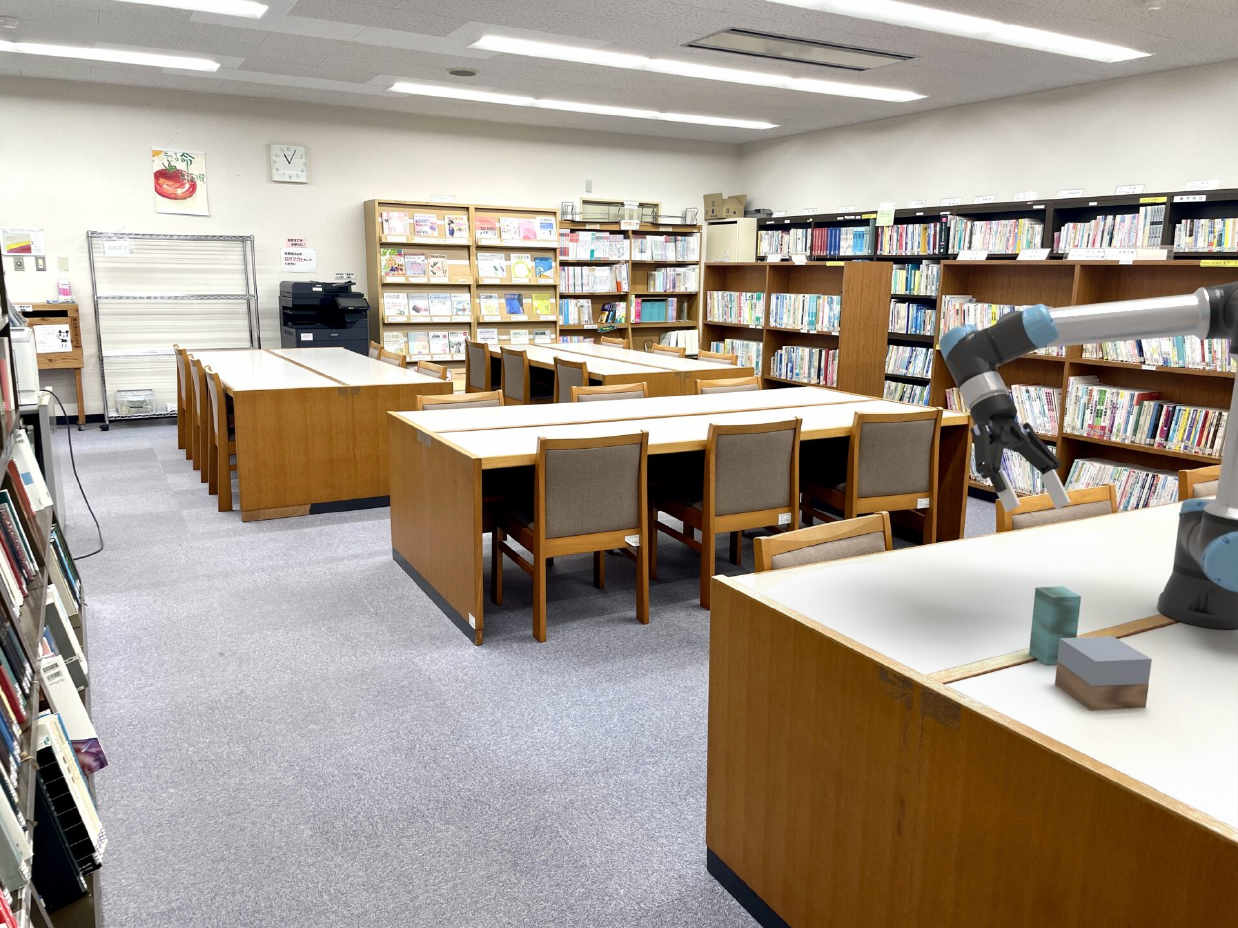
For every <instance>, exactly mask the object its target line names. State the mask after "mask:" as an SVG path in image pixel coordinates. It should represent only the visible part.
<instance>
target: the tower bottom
mask: <svg viewBox="0 0 1238 928" xmlns="http://www.w3.org/2000/svg"><path fill="white" fill-rule="evenodd" d="M1054 685H1055V686H1056V687H1058V688H1059V689H1060V690H1062V691H1064V692H1065V693H1066V694H1067V695H1069V696H1070V697H1072V698H1073V699H1074V700H1075V701H1077V702H1079V704H1081V705H1082V706H1084V707H1086V708H1087V709H1088V710H1090V711H1106V710H1107V711H1108V710H1121V709H1122V710H1123V709H1124V710H1125V709H1139V708H1141V709H1143V708H1146V707H1147V701H1148V694H1149V693H1148V692H1149V687H1150V683H1149V684H1135V685H1113V686H1091V685H1090V684H1089V683H1087V682H1086V681H1084V680H1083V679H1081V678H1080V677H1078V676H1077V675H1076V674H1074V673H1073V672H1071V671H1070V670H1068V669H1067V668H1065V667H1064V666H1062V665H1061V664H1060V663H1058V662H1057V665H1056V669H1055V679H1054Z"/></svg>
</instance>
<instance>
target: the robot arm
mask: <svg viewBox="0 0 1238 928" xmlns="http://www.w3.org/2000/svg"><path fill="white" fill-rule="evenodd" d="M1187 336H1195V337H1196V338H1197V339H1199V340H1201V341H1203V340H1218V339H1219V340H1230V341H1229V342H1230V344H1229V349H1228V356H1229V357H1230V358H1231V359H1232V360H1233V361H1234V362H1235V363H1236V365H1237V366H1236V373H1235V377H1234V385H1233V390H1232V395H1231V402H1230V408H1229V415H1228V420H1227V421H1228V422H1227V428H1226V433H1225V440H1224V445H1223V450H1222V458H1221V463H1220V469H1219V477H1218V482H1217V488H1216V492H1215V493H1216V494H1215V498H1214V499H1213V498H1211V499H1210V498H1187V499H1185V500H1183V501H1182V503H1181V507H1180V511H1179V512H1178V517H1179V519H1178V526H1177V527H1178V528H1177V533H1176V542H1175V548H1174V549H1175V550H1174V557H1173V564H1172V565H1173V566H1172V571H1171V574H1170V576H1169V578H1168V580H1167V581H1166V584H1165V586H1164V588H1163V591H1162V592H1161V593H1160V594H1159V595H1158V600H1157V607H1156V608H1157V610H1158V611H1159V612H1160V613H1161V614H1162V615H1164V616H1166V617H1168V618H1171V619H1173V620H1175V621H1178V622H1182V623H1185V624H1189V625H1194V626H1198V627H1204V628H1209V629H1221V630H1237V629H1238V280H1237V281H1233V282H1228V283H1224V284H1219V285H1212V286H1204V287H1203V286H1202V287H1199V288H1198V289H1197V290H1196V291H1194V292H1193V293H1189V294H1178V295H1168V296H1159V297H1158V296H1157V297H1148V298H1140V299H1128V300H1120V301H1111V302H1110V301H1109V302H1100V303H1091V304H1090V303H1089V304H1079V305H1069V306H1063V307H1060V306H1059V307H1049V308H1047V307H1046V305H1045V304H1043V303H1037V304H1035V305H1033V306H1030V307H1027V308H1025V309H1023V310H1013V311H1008V312H1006V313H1003V314H1002V315H1001V316H1000V317H999V318H998V319H997V321H996V323H994V324H992V325H990V326H988V327H985V328H982V329H978V328H977V327H976V326H975V325H974V324H971V323H965V324H962V325H957V326H955V327H952V328H951V329H949V330H947V331H946V332H945V333H944V334H942V336H941V338H940V340H939V342H938V343H939V344H938V345H939V346H938V347H939V350H940V352H941V354H942V357H943V359H944V362H945V365H946V367H947V368H948V370H949V372H950V375H951V377H952V378H953V381H954V383H955V384H956V388H957V389H958V391H959V393H960V395H961V398H962V400H963V402H964V404H965V406H966V408H967V409H968V410H969V415H970V417H971V419H972V421H973V423H974V425H973V426H972V427H971V428H970V430H969V431H970V433H971V436H972V440H973V448H974V449H973V450H974V463H975V472H976V473H977V474H979V475H980V476H981V478H982V479H983V480H987V479H989V480H990V483H991V485H992V486H993V489H994V491H995V492H996V494H997V496H998V498H999V500H1000V503H1001V505H1002V507H1003V509H1004V512H1005V513H1008V512H1010V511H1012V510H1015V509H1016V508H1018V507H1020V506H1021V505H1022V504H1021V502H1020V499H1019V498H1018V496H1017V493H1016V491H1015V489H1014V487H1013V485H1012V483H1011V481H1010V479H1009V476H1008V474H1007V472H1006V471H1005V470H1001V466H1002V460H1003V453H1004V450H1011V451H1012V452H1013V453H1019V455H1020V456H1021V457H1022V458H1023V459H1025V460H1026V461H1027V462H1028V463H1029V464H1031V465H1032V466H1033V468H1035V469H1036V470H1037V471H1038V472H1040V474H1041V475H1040V479H1041V481H1042V484H1043V485H1044V488H1045V490H1046V491H1047V494H1048V495H1049V498H1050V500H1051V502H1052V503H1053V505H1054V508H1055V509H1056V510H1059V509H1060V508H1063V507H1064V506H1066V505H1069V504H1070V503H1072V501H1071V499H1070V497H1069V495H1068V493H1067V490H1066V489H1065V487H1064V485H1063V483H1062V481H1061V479H1060V477H1059V475H1058V472H1057V470H1058V469H1060V468H1061V467H1062V463H1061V460H1060V459H1058V458H1057V457H1056V455H1055V454H1054V453H1053V452H1052V451H1051V450H1050V449H1049V447H1048V446H1047V445H1046V444H1045V442H1043V440H1042V439H1041V438H1040V437H1039V435H1038V434H1037V433H1035V430H1034V429H1033V427H1032V425H1031V424H1030V423H1029V422H1025V423H1023V424H1019V423H1018V422H1017V421H1016V416H1017V414H1018V408H1017V407H1016V405H1015V403H1014V400H1013V399H1012V397H1011V395H1010V394H1008V393H1009V391H1008V388H1007V386H1006V385H1005V382H1004V380H1003V379H1002V377H1001V375H1000V373H999V371H998V367H1000V366H1003V365H1004V364H1006V363H1009V362H1012V361H1014V360H1016V359H1018V358H1020V357H1022V356H1025V355H1027V354H1030V353H1032V352H1034V351H1036V350H1039V349H1044V348H1054V347H1055V348H1056V347H1067V346H1081V345H1090V344H1091V345H1092V344H1094V345H1095V344H1101V343H1102V344H1103V343H1116V342H1127V341H1139V340H1152V339H1164V338H1174V337H1187Z"/></svg>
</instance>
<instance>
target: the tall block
mask: <svg viewBox="0 0 1238 928" xmlns="http://www.w3.org/2000/svg"><path fill="white" fill-rule="evenodd" d="M1034 590H1035V591H1034V599H1033V601H1034V602H1033V609H1032V618H1031V619H1032V620H1031V632H1030V638H1029V639H1030V640H1029V649H1028V654H1029V655H1031V656H1032V657H1033V658H1035V659H1036V660H1038V661H1040V662H1041V663H1042V664H1043V665H1046V666H1054V665H1055V666H1057V660H1058V650H1059V641H1060V638H1078V636H1077V635H1078V629H1079V628H1078V627H1079V618H1080V608H1081V599H1082V596H1081V595H1079V594H1078V593H1076V592H1074V591H1072V590H1071V589H1067V588H1066V587H1065V586H1063V585H1062V586H1044V587H1043V586H1042V587H1035V589H1034Z"/></svg>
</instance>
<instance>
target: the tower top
mask: <svg viewBox="0 0 1238 928" xmlns="http://www.w3.org/2000/svg"><path fill="white" fill-rule="evenodd" d="M1057 662H1058V663H1060V664H1061V665H1062V666H1064V667H1065V668H1067V669H1068V670H1070V671H1071V672H1073V673H1074V674H1076V675H1077V676H1078V677H1080V678H1081V679H1083V680H1084V681H1086V682H1087V683H1089V684H1090V685H1091V686H1113V685H1135V684H1149V685H1150V683H1149V682H1150V677H1151V676H1150V675H1151V667H1152V658H1150V657H1149V656H1147V655H1146V654H1144V653H1143V652H1140V651H1139V650H1137V649H1135V648H1134V647H1132V646H1130V645H1129V644H1127V643H1125V642H1123V641H1122V640H1121V639H1118V638H1117V637H1114V636H1113V635H1112V636H1111V635H1109V636H1106V635H1105V636H1086V637H1085V636H1084V637H1077V638H1060V641H1059V650H1058V660H1057Z"/></svg>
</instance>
